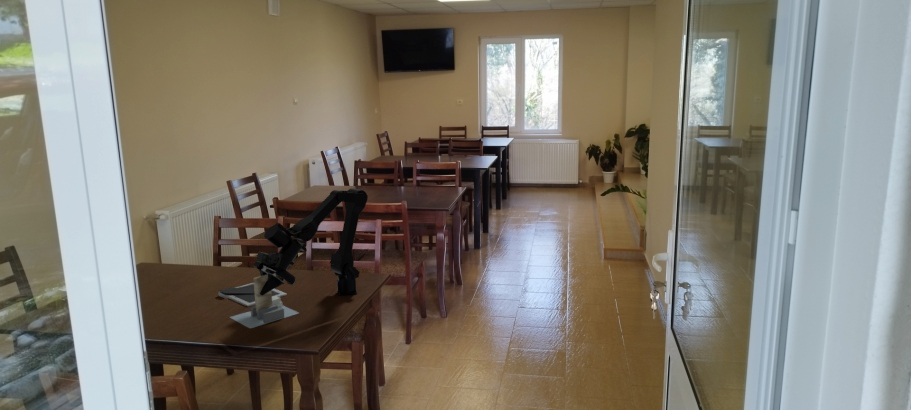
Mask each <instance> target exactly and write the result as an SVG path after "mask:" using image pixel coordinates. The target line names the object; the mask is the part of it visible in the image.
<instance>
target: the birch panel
mask: <svg viewBox="0 0 911 410" xmlns="http://www.w3.org/2000/svg"><path fill="white" fill-rule="evenodd" d="M267 280H268V275H263V276H261V275H259V276H255V277H253V279H252V281H253V283H254V292H255V304H256V305H255V306H256V312H257V310H260V309H263V308H267V307H270V306H272V293H271V291H269V292H268V293H266V294H264V295H260V292H261V290H262V288H263V287H264V285H265V283H266V282H267Z"/></svg>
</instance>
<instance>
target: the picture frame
mask: <svg viewBox="0 0 911 410" xmlns="http://www.w3.org/2000/svg"><path fill="white" fill-rule="evenodd" d="M271 293H272V296H276V297H280V298H282V297H286V296H287V295H288V294H287V293H286V292H283V291H281V290H279V289H276V288H274V289H273V290H271ZM218 297H221V298H223V299H225V300H226V299H229V300H231V301H233V302H235V303H238V304H240V305H243V306H244V307H248V308H249V307H254V306H256V304H255V292H254V282H251V283H247V284H244V285H240V286H236V287H232V286H230V287H226V288H222V289H218Z"/></svg>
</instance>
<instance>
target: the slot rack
mask: <svg viewBox="0 0 911 410" xmlns="http://www.w3.org/2000/svg"><path fill="white" fill-rule="evenodd" d="M298 314H299V312H298V311H297V310H295V309H292V308H290V307H287V306H285V305H283V306H282V307H278V306H277V305H274V306H270V307H267V308H263V309H260V310H257V312H256V305H253V306H250V311H247V312H242V313H239V314H235V315H233V316H229V318H230V319H232V320H233V321H236V322H237V323H239V324H241V325H242V326H244V327H246V328H248V329H254V328H256V327H259V326H263V325H266V324H268V323H269V324H270V323H272V322H275V321H279V320H281V319H286V318H288V317H292V316H295V315H298Z"/></svg>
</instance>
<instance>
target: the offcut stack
mask: <svg viewBox="0 0 911 410" xmlns="http://www.w3.org/2000/svg"><path fill="white" fill-rule="evenodd" d="M274 305H277V306H278V307H282V306H284V304H283V301H282V297H276V296H272V306H274Z"/></svg>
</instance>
